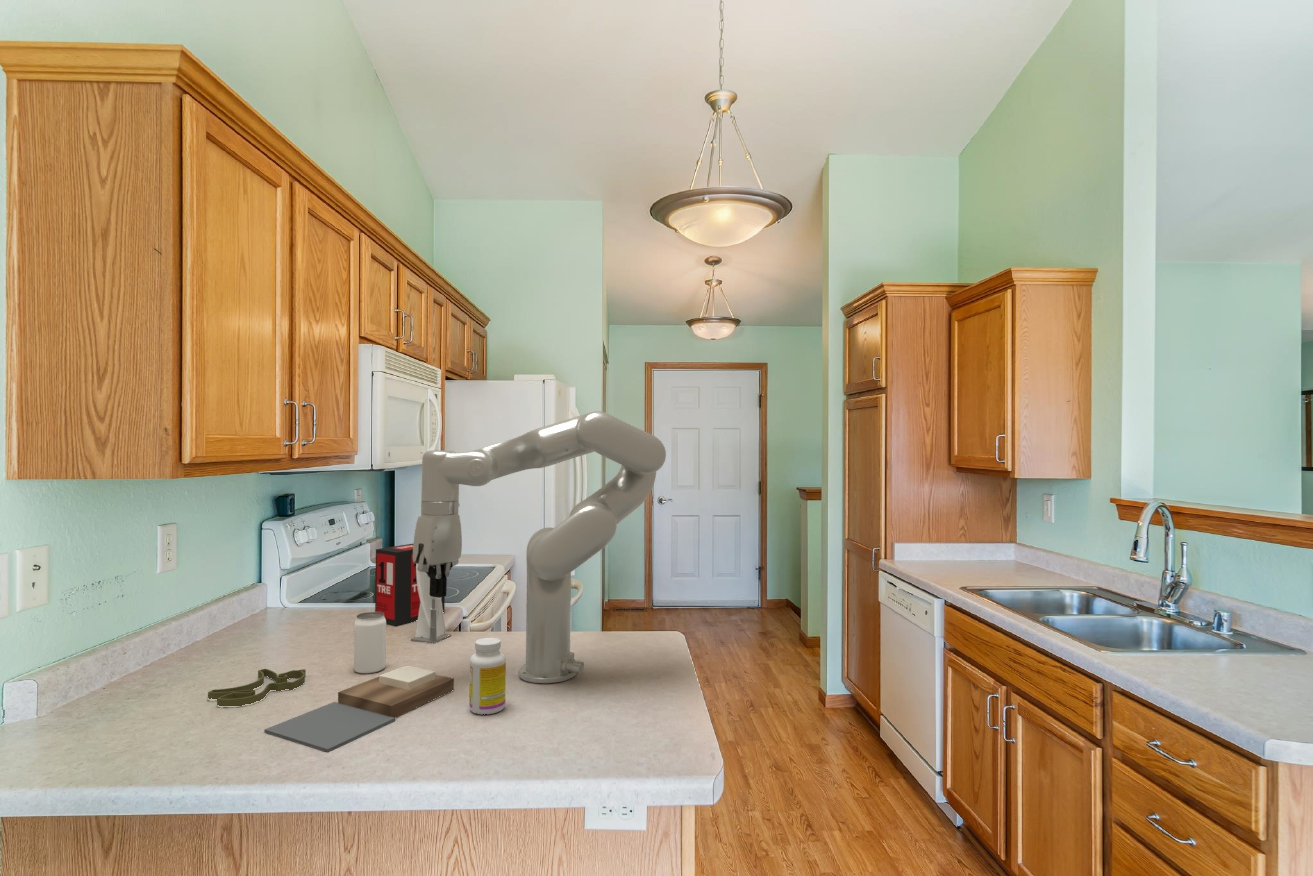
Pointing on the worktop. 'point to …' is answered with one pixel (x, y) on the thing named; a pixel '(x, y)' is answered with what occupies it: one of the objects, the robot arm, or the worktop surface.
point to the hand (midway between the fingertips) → (437, 596)
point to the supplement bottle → (487, 677)
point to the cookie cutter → (246, 692)
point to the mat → (329, 726)
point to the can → (370, 643)
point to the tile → (407, 677)
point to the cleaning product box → (397, 585)
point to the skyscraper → (429, 613)
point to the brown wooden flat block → (393, 696)
